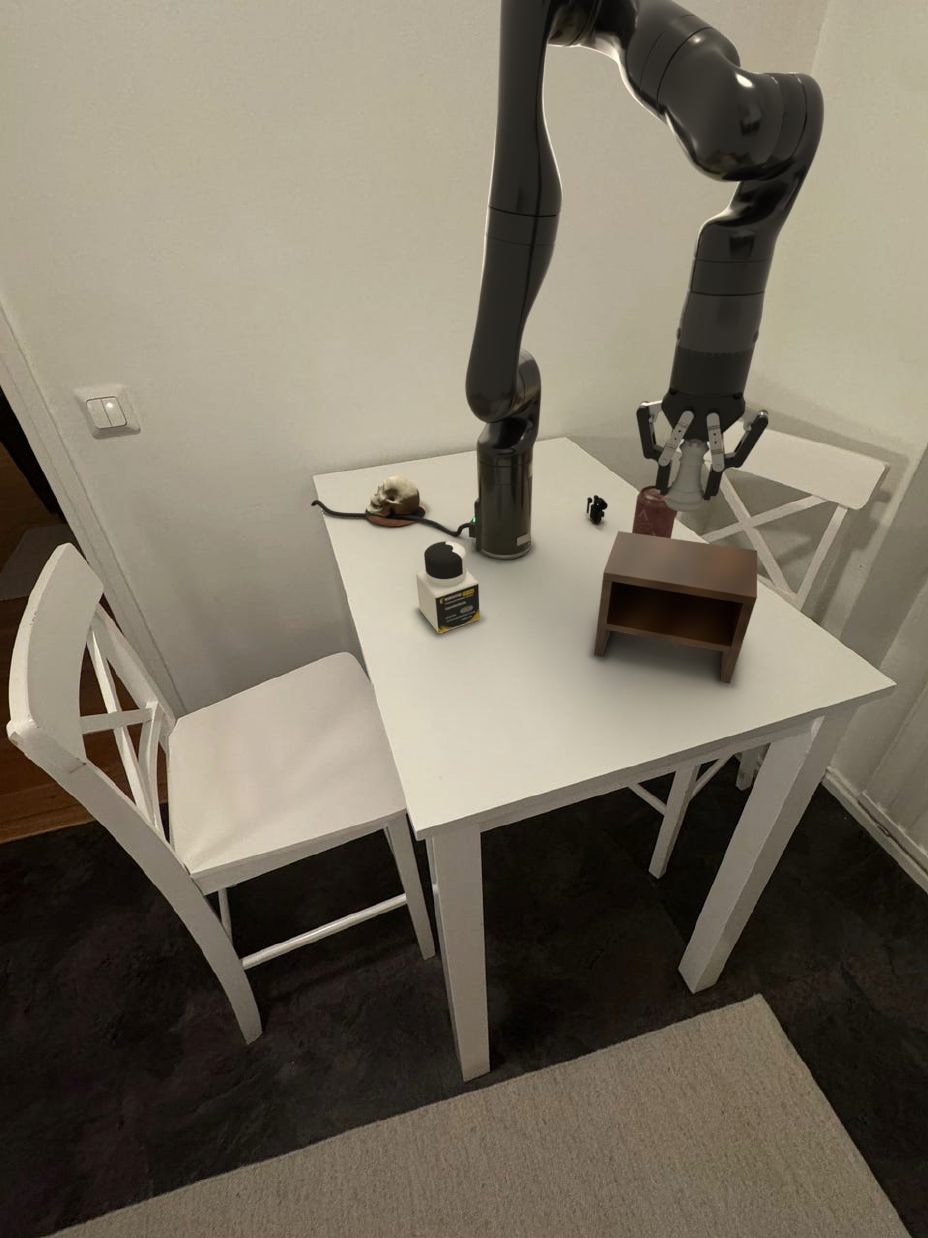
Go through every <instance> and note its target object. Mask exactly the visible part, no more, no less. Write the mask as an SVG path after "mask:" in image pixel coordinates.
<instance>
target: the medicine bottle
mask: <svg viewBox="0 0 928 1238" xmlns="http://www.w3.org/2000/svg"><path fill="white" fill-rule="evenodd" d="M423 557H424V568H425V570H421V571H418V572H416V574H415V579H416V587H417V588H416V589H417V595H418V596H417V598H418V605H419V610H420V612H421V613H422V614H423V616H424V617H425V618H426V619H427V621H428V622H429V623H430V624H431V626H432V627H433V628H434V630H435V631H436V632H437V633H438V634H442V633H445V632H447V631H450V630H451V631H452V630H454V629H456V628H459V627H461V626H464V625H468V624H470V623H473V622H475V621H479V620H480V619H481V618H480V617H481V616H480V613H481V612H480V588H479V581H478V580H477V578H475V577H474V576H473V575H472V574H471V573H470V571H468V569H467V568H468V567H467V553H466V549H465V547H464V546H463V545H461V544H460V543H458V542H454V541H438V542H436V543H433V544H431V545H429V546H428V547H427V548H425V551H424V554H423Z"/></svg>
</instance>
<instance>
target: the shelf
mask: <svg viewBox="0 0 928 1238" xmlns="http://www.w3.org/2000/svg"><path fill="white" fill-rule="evenodd" d="M757 599H758V550H756V549H750V548H749V549H748V548H742V547H735V546H729V545H722V544H721V545H720V544H715V543H714V544H713V543H707V542H700V541H694V540H693V541H692V540H687V539H679V538H678V539H677V538H672V537H671V538H665V537H657V536H650V535H643V534H636V533H632V532H629V531H628V532H627V531H621V530H618V531H617V533H616V537H615V539H614V542H613V545H612V548H611V551H610V553H609V556H608V559H607V561H606V565H605V567H604V569H603V574H602V582H601V591H600V599H599V608H598V618H597V625H596V634H595V643H594V650H593V656H597V657H601V658H602V657H603V656H604V653H605V650H606V646H607V643H608V640H609V636H610V634H611V631H614V632H618V633H623V634H629V635H634V636H639V637H645V638H649V639H655V640H661V641H666V642H671V643H677V644H682V645H687V646H692V647H697V648H703V649H708V650H713V651H718V652H722V655H721V657H722V658H721V669H720V682H723V683H729V684H730V683H732V678H733V675H734V673H735V669H736V665H737V663H738V659H739V656H740V653H741V651H742V650H741V649H742V647H743V643H744V640H745V636H746V634H747V630H748V628H749V624H750V622H751V618H752V614H753V611H754V608H755V605H756V602H757Z"/></svg>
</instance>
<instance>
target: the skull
mask: <svg viewBox="0 0 928 1238" xmlns="http://www.w3.org/2000/svg"><path fill="white" fill-rule="evenodd" d="M369 499H370V503H369V504H368V505H367V506H366V508H365V511H364V513H372V514H375V515H378V516H368V515H367V517H368V518H367V519H368V520H369V521H371V522H372V523H375V524H376V525H380V526H383V527H385V526H391V527H400V526H405V525H410V524H411V525H412V524H413V523H416V522H417V521H415V520H410V519H404V518H399V517H394V516H393V515H403V514H406V515H412V516H417V517H421V518H424V516H425V515H426V508H425V506H424V504H422V502H420V501H421V497H420V491H419V488H418V487H417V485H416V484H414V482H412V481H411V480H409V479H408V478H406V477H404V476H402V475H392V476H389V477H387V478H385V479H384V480H383V481H382V484H380V485H378V487H377V489H376V491H374V494H373V495H372V496H371V497H370V498H369Z"/></svg>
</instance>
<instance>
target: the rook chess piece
mask: <svg viewBox="0 0 928 1238" xmlns="http://www.w3.org/2000/svg"><path fill="white" fill-rule="evenodd" d="M678 449H679V450H680V452H681V456H680V457H678V462H679V467H678V470H677V473H676V476H675V478H674V480H673V481H672V482H671V485H669V486H668V489H667V492H666V494H667V496H666V497H665V499H664V500H665V502H666V504H667V505H668V507H670V508H671V509H673V510H676V511H678V512H680V513H692V512H695V511H698V510H699V509H700V508H701V507H702V506H704V501H705V500H704V494H705V490H703V485H702V481H701V480H702V479H701V478H702V477H701V476H702V467H703V465H704V464H705V463H706V460H705V459H704V456H705V455H706V454H707V453H708V452H709V451H710V445H709V444H708V442H705V441H701V440H698V439H690V440H684V439H683V442H680V444H679V446H678Z"/></svg>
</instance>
